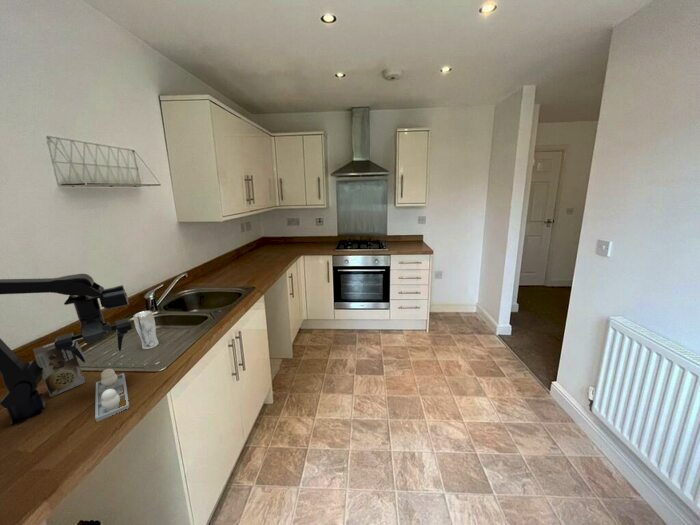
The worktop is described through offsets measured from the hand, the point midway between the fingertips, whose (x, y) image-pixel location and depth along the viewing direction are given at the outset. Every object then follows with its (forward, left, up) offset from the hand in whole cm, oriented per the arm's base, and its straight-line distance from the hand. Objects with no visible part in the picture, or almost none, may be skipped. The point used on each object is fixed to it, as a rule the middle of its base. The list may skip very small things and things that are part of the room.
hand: (102, 356), depth 97 cm
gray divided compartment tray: (0, -7, -12) cm, 14 cm away
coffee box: (-12, +12, -12) cm, 21 cm away
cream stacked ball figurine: (0, 0, -11) cm, 11 cm away
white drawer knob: (0, -14, -11) cm, 18 cm away
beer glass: (+14, +24, -12) cm, 30 cm away
